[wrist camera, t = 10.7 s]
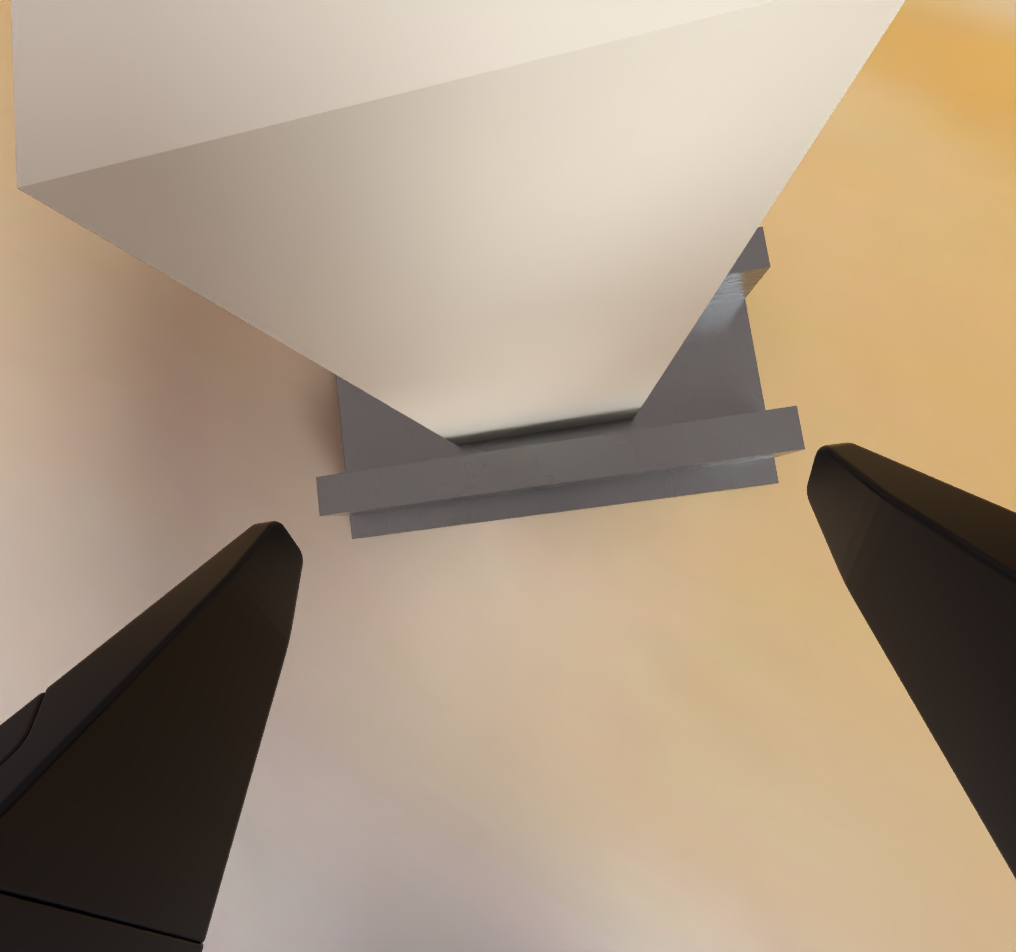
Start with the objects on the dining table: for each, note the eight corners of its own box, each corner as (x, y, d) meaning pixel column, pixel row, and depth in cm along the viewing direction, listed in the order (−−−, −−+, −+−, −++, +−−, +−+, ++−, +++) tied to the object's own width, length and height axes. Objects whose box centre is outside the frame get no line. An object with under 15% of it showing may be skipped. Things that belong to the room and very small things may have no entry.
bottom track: (765, 484, 16) (810, 478, 13) (364, 537, 17) (322, 542, 15) (724, 256, 17) (757, 199, 14) (343, 327, 18) (299, 291, 15)
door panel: (634, 417, 16) (929, -36, 3) (455, 444, 16) (17, 188, 3) (621, 333, 16) (831, -444, 3) (445, 363, 17) (5, -157, 4)
